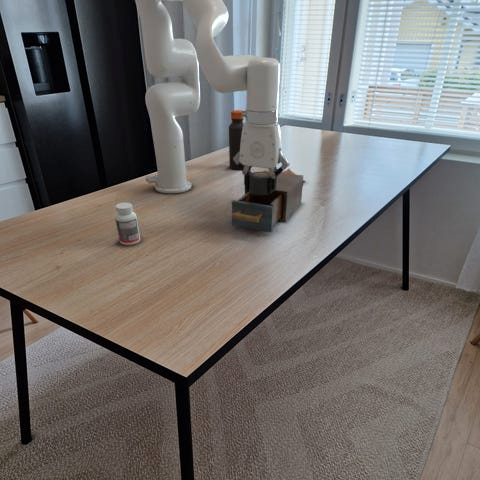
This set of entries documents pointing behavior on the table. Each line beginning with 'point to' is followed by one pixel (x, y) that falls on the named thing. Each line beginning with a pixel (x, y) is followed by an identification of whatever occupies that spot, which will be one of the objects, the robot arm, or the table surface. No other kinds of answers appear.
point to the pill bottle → (127, 224)
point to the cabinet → (288, 192)
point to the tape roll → (259, 183)
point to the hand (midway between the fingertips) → (259, 189)
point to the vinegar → (235, 136)
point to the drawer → (257, 211)
